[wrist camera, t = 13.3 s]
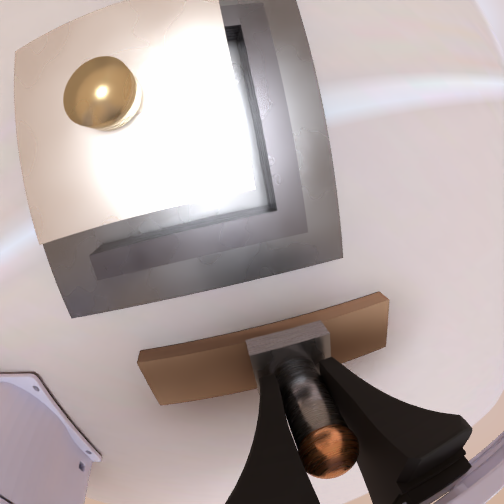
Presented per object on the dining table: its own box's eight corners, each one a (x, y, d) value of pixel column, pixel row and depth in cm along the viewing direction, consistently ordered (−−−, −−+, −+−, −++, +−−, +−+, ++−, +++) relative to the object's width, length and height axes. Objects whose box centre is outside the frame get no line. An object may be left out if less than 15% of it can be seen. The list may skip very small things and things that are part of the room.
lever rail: (377, 337, 16) (385, 346, 15) (161, 393, 14) (160, 405, 13) (379, 291, 14) (389, 299, 14) (140, 350, 13) (136, 362, 12)
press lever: (323, 373, 14) (379, 473, 8) (258, 391, 14) (290, 504, 7) (320, 319, 13) (395, 428, 7) (245, 339, 13) (280, 470, 6)
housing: (228, 175, 11) (263, 194, 4) (117, 202, 10) (19, 257, 4) (208, 66, 9) (217, -40, 3) (98, 96, 9) (-4, 42, 2)
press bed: (336, 252, 13) (358, 269, 11) (77, 310, 12) (60, 335, 10) (286, -6, 9) (301, -30, 7) (25, 62, 8) (0, 51, 6)
